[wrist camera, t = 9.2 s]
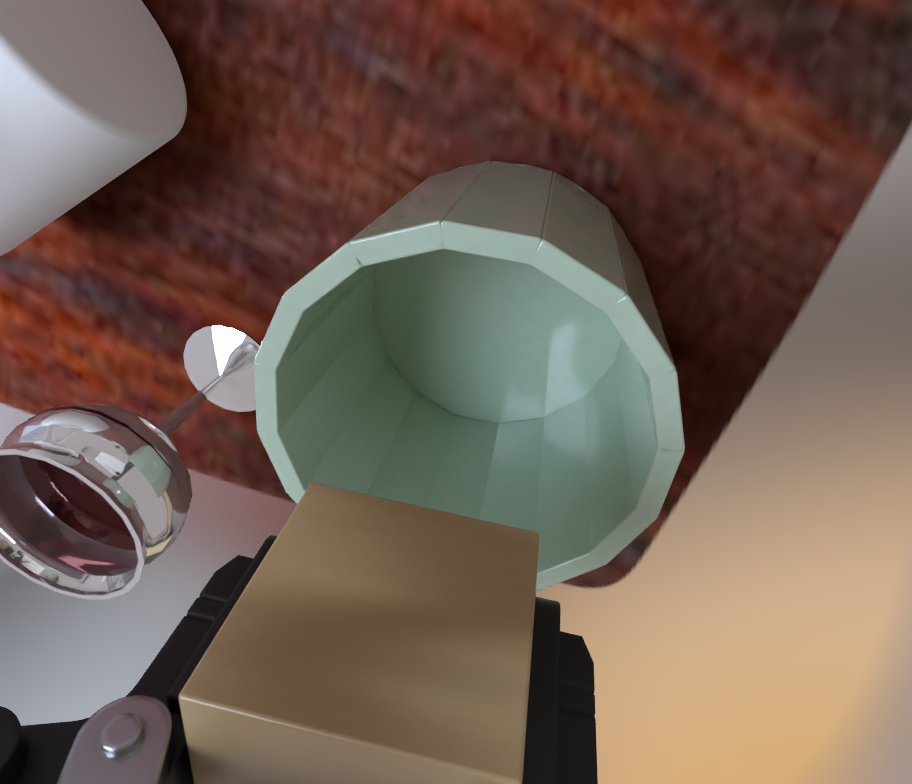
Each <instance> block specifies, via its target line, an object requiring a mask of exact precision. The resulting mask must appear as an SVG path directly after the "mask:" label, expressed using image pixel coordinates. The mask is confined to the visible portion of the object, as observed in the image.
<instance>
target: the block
mask: <svg viewBox="0 0 912 784" xmlns="http://www.w3.org/2000/svg"><path fill="white" fill-rule="evenodd" d="M539 540H540V536H539V533H537V532H534V531H529V530H525V529H520V528H516V527H511V526H507V525H502V524H498V523H493V522H489V521H484V520H480V519H475V518H471V517H466V516H462V515H457V514H453V513H448V512H443V511H439V510H434V509H430V508H425V507H421V506H416V505H412V504H407V503H403V502H398V501H394V500H389V499H385V498H380V497H376V496H371V495H367V494H362V493H358V492H353V491H349V490H344V489H340V488H335V487H331V486H326V485H322V484H317V483H311V484H310V485H309V487H308V488H307V490H306V491H305V493H304V495H303V496H302V498H301V499H300V501H299V503H298V504H297V506H296V508H295V509H294V511H293V513H292V514H291V516H290V517H289V519H288V520H287V522H286V524H285V525H284V527H283V528H282V530H281V532H280V533H279V535H278V536H277V538H276V540H275V541H274V543H273V544H272V546H271V548H270V549H269V551H268V552H267V554H266V556H265V557H264V559H263V560H262V562H261V564H260V565H259V567H258V569H257V570H256V572H255V573H254V575H253V577H252V578H251V580H250V581H249V583H248V585H247V586H246V588H245V589H244V591H243V593H242V594H241V596H240V597H239V599H238V601H237V602H236V604H235V605H234V607H233V609H232V610H231V612H230V613H229V615H228V617H227V618H226V620H225V621H224V623H223V625H222V626H221V628H220V630H219V631H218V633H217V634H216V636H215V638H214V639H213V641H212V642H211V644H210V646H209V647H208V649H207V650H206V652H205V654H204V655H203V657H202V658H201V660H200V662H199V663H198V665H197V666H196V668H195V670H194V671H193V673H192V674H191V676H190V678H189V679H188V681H187V683H186V684H185V686H184V687H183V689H182V691H181V692H180V694H179V704H180V709H181V715H182V720H183V726H184V731H185V737H186V742H187V748H188V753H189V759H190V764H191V770H192V775H193V781H194V784H522V781H523V767H524V752H525V738H526V724H527V710H528V696H529V681H530V667H531V653H532V639H533V625H534V611H535V596H536V582H537V568H538V554H539Z"/></svg>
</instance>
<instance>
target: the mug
mask: <svg viewBox="0 0 912 784" xmlns="http://www.w3.org/2000/svg"><path fill="white" fill-rule="evenodd" d="M186 113H187V97H186V90H185V85H184V81H183V77H182V74H181V71H180V68H179V66H178V63H177V61H176V58H175V56H174V54H173V52H172V49H171V47H170V46H169V44H168V42H167V40H166V38H165V36H164V34H163V33H162V31H161V29H160V27H159V26H158V24H157V23H156V21H155V19H154V18H153V16H152V15H151V13H150V12H149V10H148V9H147V8H146V6H145V5H144V3H143V2H142V1H141V0H0V256H1V255H3V254H5V253H7V252H9V251H11V250H12V249H13V248H15V247H16V246H18V245H19V244H21V243H22V242H24V241H25V240H27V239H28V238H29V237H31V236H32V235H34V234H35V233H37V232H38V231H40V230H41V229H42V228H44V227H45V226H47V225H48V224H50V223H51V222H53V221H54V220H55V219H57V218H58V217H60V216H61V215H63V214H64V213H66V212H67V211H68V210H70V209H71V208H73V207H74V206H76V205H77V204H79V203H80V202H82V201H83V200H84V199H86V198H87V197H89V196H90V195H92V194H93V193H95V192H96V191H97V190H99V189H100V188H102V187H103V186H105V185H106V184H108V183H109V182H110V181H112V180H113V179H115V178H116V177H118V176H119V175H121V174H122V173H123V172H125V171H126V170H128V169H129V168H131V167H132V166H134V165H135V164H137V163H138V162H139V161H141V160H142V159H144V158H145V157H147V156H148V155H150V154H151V153H152V152H154V151H155V150H157V149H158V148H160V147H161V146H163V145H164V144H165V143H167V142H168V141H170V140H171V139H173V138H174V137H175V136H176V135H177V134H178V133H179V132H180V130H181V129H182V127H183V124H184V122H185V118H186Z"/></svg>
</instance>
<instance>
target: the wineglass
mask: <svg viewBox="0 0 912 784" xmlns="http://www.w3.org/2000/svg"><path fill="white" fill-rule="evenodd" d="M259 348H260V345H258V344H257V343H256V342H255V341H254V340H253V339H251V338H250V337H249V336H248V335H246V334H244V333H242V332H240V331H238V330H236V329H234V328H229V327H224V326H220V325H217V326H208V327H204V328H202V329H200V330H198V331H196V332H194V333H193V335H192V336H191V337H190V338H189V340H188V341H187V342H186V346H185V350H184V363H185V369H186V371H187V373H188V376H189V378H190V380H191V382H192V383H193V384H194V386H195V387H196V388H197V390H198V391H197V392H196V393H195V394H194V395H192V396H191V397H190V398H189V399H187V400H186V401H185V402H183V403H182V404H181V405H180V406H178V407H177V408H176V409H174V410H173V411H172V412H171V413H169V414H168V415H167V416H166V417H164V418H163V419H162V420H160V421H159V422H158V423H157V424H155V423H154V422H152V421H151V420H149V419H146V418H144V417H142V416H140V415H138V414H136V413H133V412H130V411H127V410H125V409H122V408H119V407H114V406H110V405H105V404H100V403H96V402H91V403H79V404H71V405H65V406H60V407H54V408H51V409H47V410H45V411H43V412H41V413H39V414H37V415H36V416H34V417H32V418H30V419H28V420H27V421H26V422H24V423H22V424H20V425H18V426H17V427H16V428H15V429H14V430H13V431H12V432H11V433H10V434H9V435H8V436H7V437H6V439H5V441H4V442H3V444H2V446H1V447H0V559H2V561H4V562H5V563H6V564H7V565H9V566H10V567H12V568H13V569H15V570H16V571H18V572H19V573H21V574H22V575H24V576H25V577H27V578H28V579H30V580H31V581H33V582H36V583H38V584H40V585H42V586H44V587H47V588H49V589H51V590H53V591H55V592H57V593H61V594H65V595H69V596H74V597H78V598H81V599H110V598H113V597H116V596H119V595H122V594H126V593H127V592H128V591H129V590H130V589H131V588H132V587H133V586H134V585H135V584H136V583H137V582H138V581H139V580H140V577H141V574H142V570H143V566H144V565H145V564H148V563H150V562H152V561H153V560H154V559H156V558H157V557H158V556H159V555H161V554H162V553H163V552H164V551H165V550H166V549H167V548H168V547H169V546H170V545H171V544H172V543H173V542H174V541H175V539H176V537H177V536H178V534H179V533H180V531H181V529H182V527H183V525H184V522H185V519H186V516H187V512H188V509H189V506H190V502H191V498H192V489H191V481H190V475H189V472H188V470H187V468H186V465H185V463H184V460H183V458H182V456H181V454H180V452H179V449H178V447H177V445H176V444H175V443H174V441H173V440H172V439H171V438H170V437H169V436H170V435H171V434H172V433H173V432H174V431H175V430H176V429H177V428H178V427H179V426H180V425H181V424H182V423H183V422H184V421H185V420H186V419H187V418H188V417H189V416H190V415H191V413H192V412H193V411H194V410H195V409H196V408H197V407H198V406H199V405H200V404H201V403H202V402H203V401H204V400H205V399H206V398H207V399H208V400H209V401H211V402H212V403H214V404H216V405H218V406H220V407H222V408H224V409H228V410H232V411H237V412H245V411H253V410H255V409H256V401H255V381H254V360H255V357H256V355H257V353H258V350H259Z"/></svg>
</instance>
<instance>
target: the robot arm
mask: <svg viewBox="0 0 912 784" xmlns="http://www.w3.org/2000/svg"><path fill="white" fill-rule="evenodd" d="M276 538H277V536H273V535H271V536H269V537H268V538H267V539H266V541H265V542H264V544H263V545H262V547H261V548H260V550H259V551H258V553H257V555H256V556H255V558H254V559H253V558H249V557H244V556H240V555H238V556H236V557H235V558H234V559H232V560H231V561H230V562H229V563H227V564H226V565H224V566H223V567H221V568H220V569H219V570H217V571H216V572H215V573H214V575H213V576H212V578H211V579H210V580H209V582H208V583H207V585H206V586H205V588H204V589H203V590H202V592H201V593H200V597H199V598H197V599H196V600H195V602H194V603H193V605H192V606H191V608H190V609H189V610H188V613H187V616H186V617H185V616H184V618H183V619H182V620H181V622H180V623H179V625H178V626H177V628H176V629H175V630H174V632H173V633H172V635H171V636H170V638H169V639H168V641H167V642H166V643H165V645H164V646H163V648H162V649H161V651H160V652H159V653H158V655H157V656H156V658H155V659H154V661H153V662H152V663H151V665H150V666H149V668H148V669H147V670H146V672H145V673H144V675H143V676H142V678H141V679H140V681H139V682H138V683H137V685H136V686H135V687H134V688H133V690H132V691H131V692H130V693H129V694H128V695H127V696H126V697H124V698H120V699H118V700H115V701H113V702H111V703H109V704H107V705H106V706H104V707H102V708H101V709H100V710H98V711H97V712H96V713H94V714H93V715H92V716H91V717H90V718H86V719H83V720H78V721H71V722H60V723H49V724H38V725H27V726H21V725H20V723H19V720H18V718H17V717H16V715H15V714H14V713H13V712H12V711H10V710H8V709H7V708H4V707H1V706H0V784H194V781H193V775H192V770H191V764H190V759H189V753H188V748H187V742H186V737H185V731H184V726H183V720H182V715H181V709H180V704H179V694H180V692H181V691H182V689H183V687H184V686H185V684H186V683H187V681H188V679H189V678H190V676H191V674H192V673H193V671H194V670H195V668H196V666H197V665H198V663H199V662H200V660H201V658H202V657H203V655H204V654H205V652H206V650H207V649H208V647H209V646H210V644H211V642H212V641H213V639H214V638H215V636H216V634H217V633H218V631H219V630H220V628H221V626H222V625H223V623H224V621H225V620H226V618H227V617H228V615H229V613H230V612H231V610H232V609H233V607H234V605H235V604H236V602H237V601H238V599H239V597H240V596H241V594H242V593H243V591H244V589H245V588H246V586H247V585H248V583H249V581H250V580H251V578H252V577H253V575H254V573H255V572H256V570H257V569H258V567H259V565H260V564H261V562H262V560H263V559H264V557H265V556H266V554H267V552H268V551H269V549H270V548H271V546H272V544H273V543H274V541H275V540H276ZM594 716H595V695H594V664H593V661H592V658H591V656H590V654H589V651H588V649H587V647H586V645H585V642H584V640H583V638H582V636H578V635H573V634H569V633H565V632H561V631H560V603H559V602H557V601H552V600H548V599H544V598H539V597H535V611H534V625H533V639H532V653H531V667H530V681H529V696H528V710H527V724H526V738H525V752H524V767H523V781H522V784H598V783H597V754H596V723H595V717H594Z"/></svg>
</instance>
